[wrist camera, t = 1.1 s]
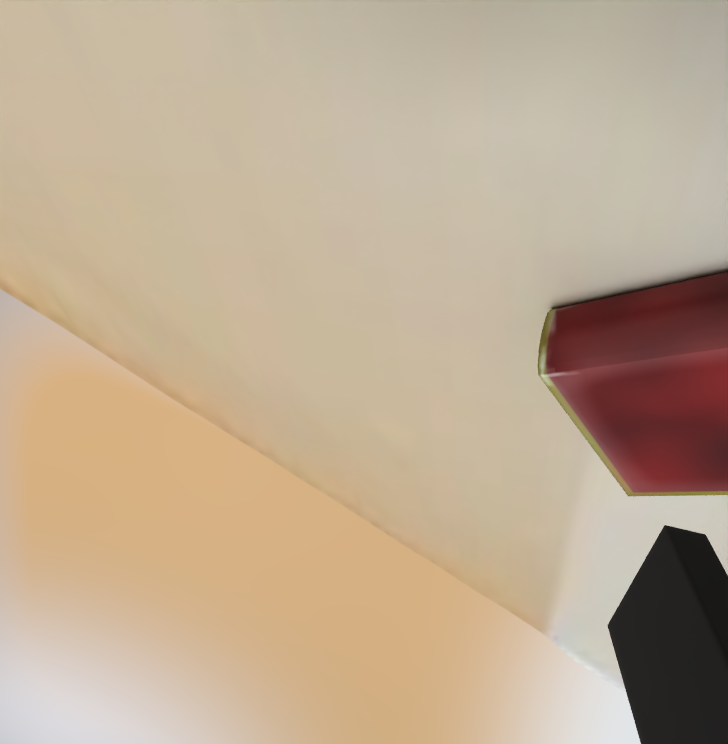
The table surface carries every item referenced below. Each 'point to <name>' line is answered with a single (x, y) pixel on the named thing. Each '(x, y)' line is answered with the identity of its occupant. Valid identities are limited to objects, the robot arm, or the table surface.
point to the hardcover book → (647, 383)
